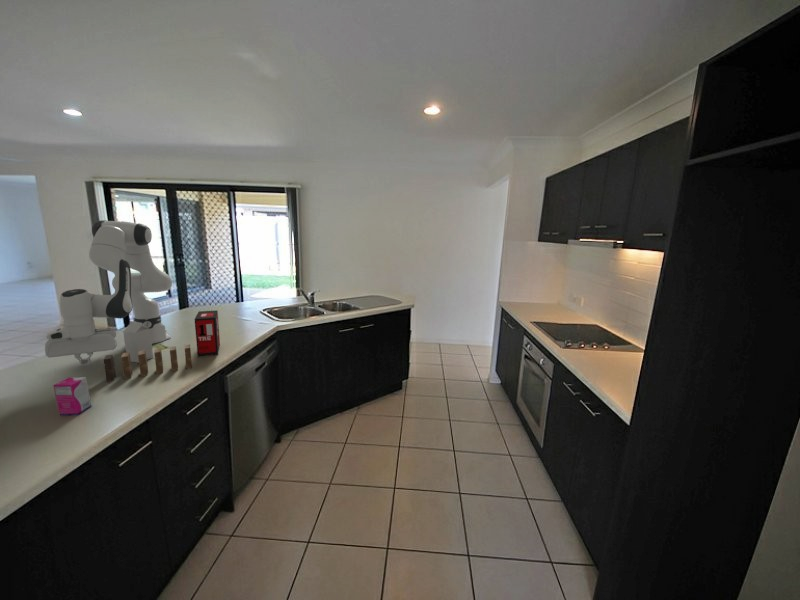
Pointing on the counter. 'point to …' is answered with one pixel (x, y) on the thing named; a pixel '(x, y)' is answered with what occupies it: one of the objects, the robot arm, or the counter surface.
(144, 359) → the tile
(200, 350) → the cleaning product box
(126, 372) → the tile
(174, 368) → the tile
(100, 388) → the counter surface
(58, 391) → the supplement box
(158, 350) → the tile
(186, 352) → the tile
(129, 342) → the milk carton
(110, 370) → the tile
